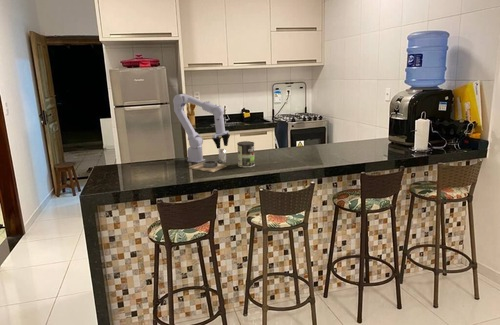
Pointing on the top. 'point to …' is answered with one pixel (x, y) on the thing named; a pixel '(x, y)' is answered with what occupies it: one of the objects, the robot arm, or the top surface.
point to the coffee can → (245, 154)
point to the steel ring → (210, 164)
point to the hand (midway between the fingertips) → (222, 147)
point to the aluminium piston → (222, 155)
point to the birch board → (200, 167)
